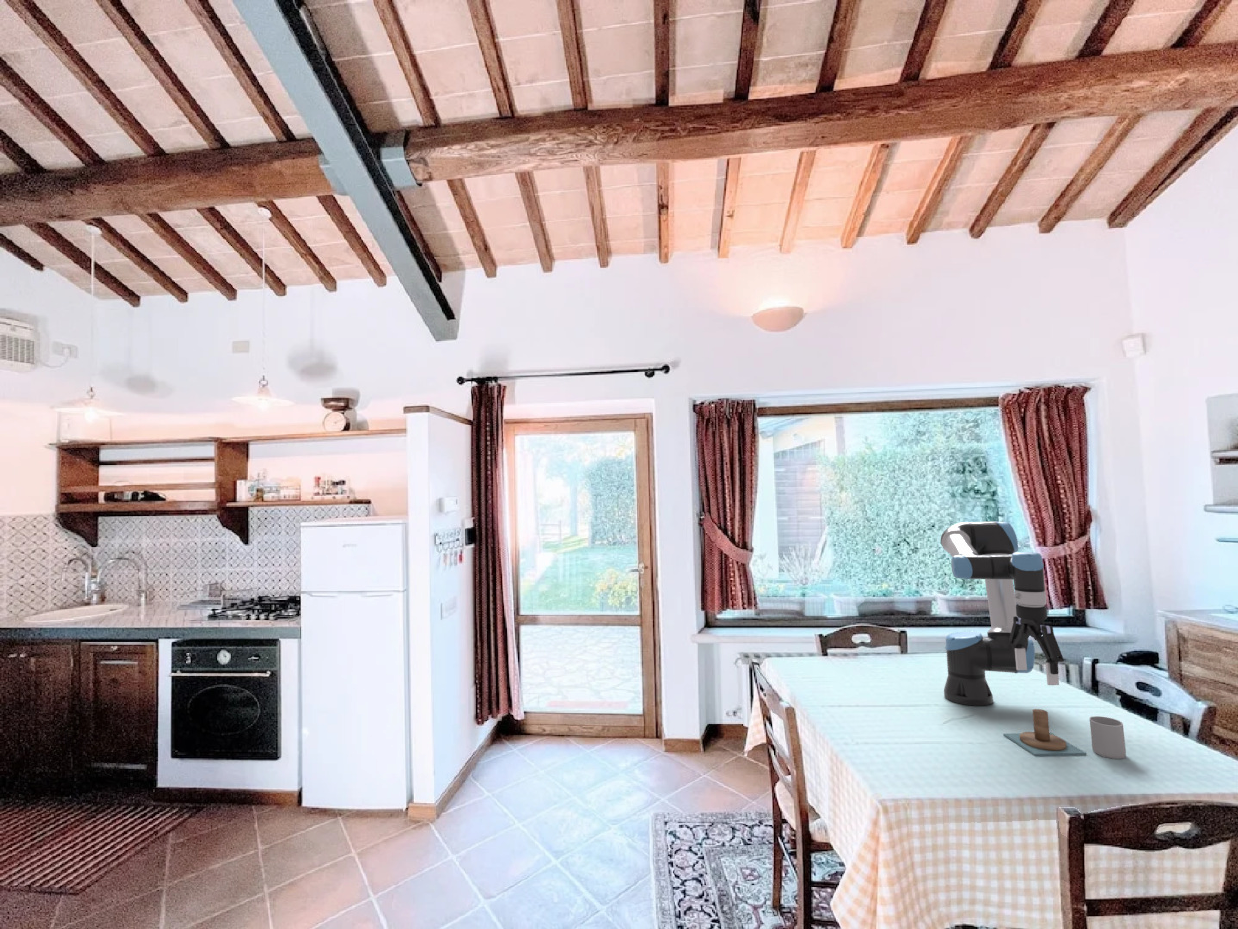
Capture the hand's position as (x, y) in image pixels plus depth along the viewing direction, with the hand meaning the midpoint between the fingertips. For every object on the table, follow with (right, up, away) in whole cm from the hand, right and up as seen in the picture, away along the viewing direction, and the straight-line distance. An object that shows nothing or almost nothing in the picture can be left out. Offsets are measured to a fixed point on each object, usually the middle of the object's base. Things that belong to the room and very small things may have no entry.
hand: (1036, 677), depth 168 cm
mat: (+1, -19, -2) cm, 19 cm away
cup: (+14, -19, -7) cm, 25 cm away
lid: (+1, -19, -2) cm, 19 cm away
